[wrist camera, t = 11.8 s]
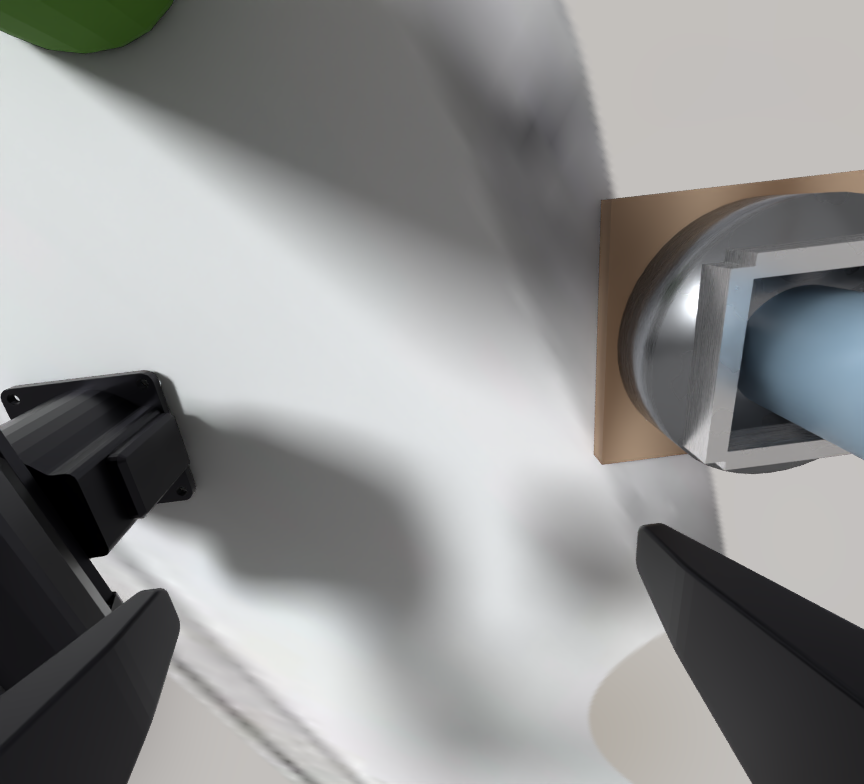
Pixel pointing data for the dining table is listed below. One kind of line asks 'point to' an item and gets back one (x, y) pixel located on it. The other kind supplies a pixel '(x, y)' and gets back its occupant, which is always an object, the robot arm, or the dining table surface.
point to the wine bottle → (80, 22)
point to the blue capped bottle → (809, 361)
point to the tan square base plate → (711, 314)
